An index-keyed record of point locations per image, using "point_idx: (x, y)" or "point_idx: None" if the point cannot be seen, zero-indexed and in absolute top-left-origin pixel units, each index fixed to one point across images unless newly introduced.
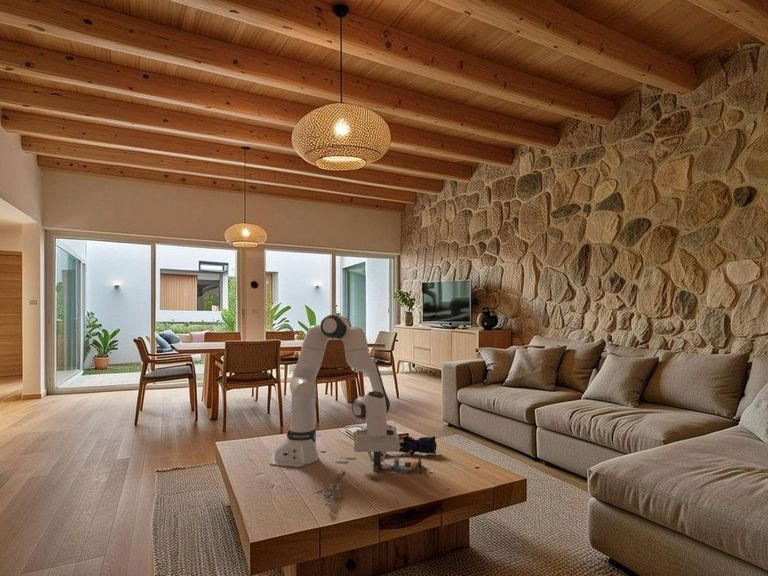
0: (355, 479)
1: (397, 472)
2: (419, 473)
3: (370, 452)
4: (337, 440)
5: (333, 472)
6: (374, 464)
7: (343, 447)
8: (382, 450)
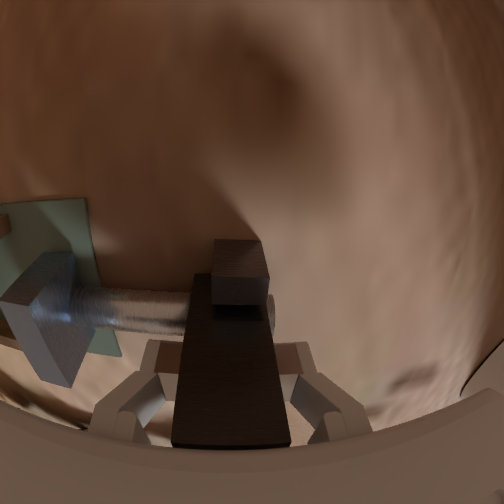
0: (425, 110)
1: (52, 231)
2: None
3: (334, 432)
4: None
5: (494, 258)
6: (259, 311)
7: None
8: (127, 458)
